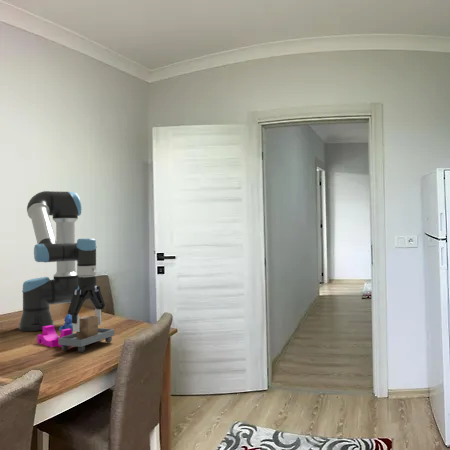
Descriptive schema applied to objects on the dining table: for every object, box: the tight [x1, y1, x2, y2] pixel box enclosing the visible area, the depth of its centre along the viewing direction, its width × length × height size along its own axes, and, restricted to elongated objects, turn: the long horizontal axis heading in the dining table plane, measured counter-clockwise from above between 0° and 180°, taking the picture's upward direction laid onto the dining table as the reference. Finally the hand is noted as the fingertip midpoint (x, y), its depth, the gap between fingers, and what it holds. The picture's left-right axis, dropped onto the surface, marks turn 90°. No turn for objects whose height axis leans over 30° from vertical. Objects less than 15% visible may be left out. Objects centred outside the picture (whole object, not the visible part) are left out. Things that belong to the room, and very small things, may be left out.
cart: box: [59, 327, 115, 353], centre depth 188 cm, size 11×21×5 cm, turn 157°
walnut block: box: [75, 315, 99, 339], centre depth 188 cm, size 6×6×8 cm
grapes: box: [58, 313, 74, 334], centre depth 196 cm, size 12×7×12 cm, turn 25°
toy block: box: [36, 325, 72, 348], centre depth 191 cm, size 15×6×8 cm, turn 54°
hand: (87, 328), depth 188 cm, fingers open, 13 cm apart
